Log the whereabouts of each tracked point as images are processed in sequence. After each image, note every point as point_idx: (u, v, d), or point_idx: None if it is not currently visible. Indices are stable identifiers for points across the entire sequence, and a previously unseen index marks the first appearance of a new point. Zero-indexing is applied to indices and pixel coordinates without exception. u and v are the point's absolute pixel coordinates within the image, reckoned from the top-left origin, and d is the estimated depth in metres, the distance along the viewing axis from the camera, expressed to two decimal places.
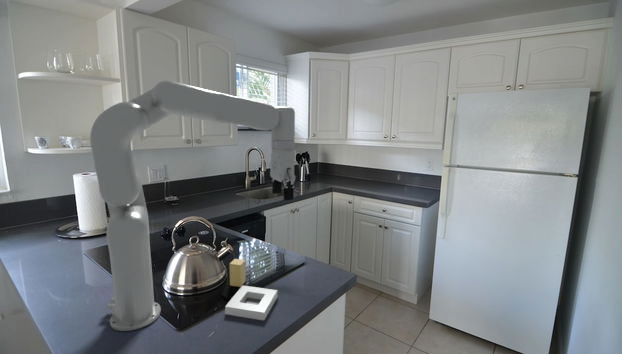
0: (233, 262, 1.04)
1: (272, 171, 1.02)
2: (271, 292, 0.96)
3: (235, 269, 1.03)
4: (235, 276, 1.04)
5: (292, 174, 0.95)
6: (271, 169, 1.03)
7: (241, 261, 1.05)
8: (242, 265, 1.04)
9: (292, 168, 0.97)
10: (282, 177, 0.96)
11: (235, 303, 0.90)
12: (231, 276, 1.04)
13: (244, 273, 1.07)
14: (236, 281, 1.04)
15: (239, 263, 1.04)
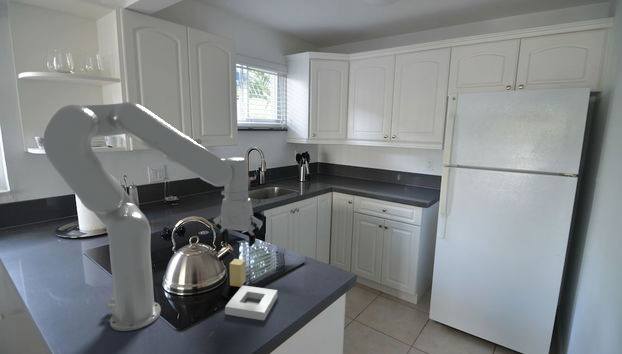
0: (233, 262, 1.04)
1: (228, 222, 1.00)
2: (271, 292, 0.96)
3: (235, 269, 1.03)
4: (235, 276, 1.04)
5: (259, 220, 1.01)
6: (224, 220, 1.00)
7: (241, 261, 1.05)
8: (242, 265, 1.04)
9: (252, 214, 1.02)
10: (249, 226, 1.00)
11: (235, 303, 0.90)
12: (231, 276, 1.04)
13: (244, 273, 1.07)
14: (236, 281, 1.04)
15: (239, 263, 1.04)
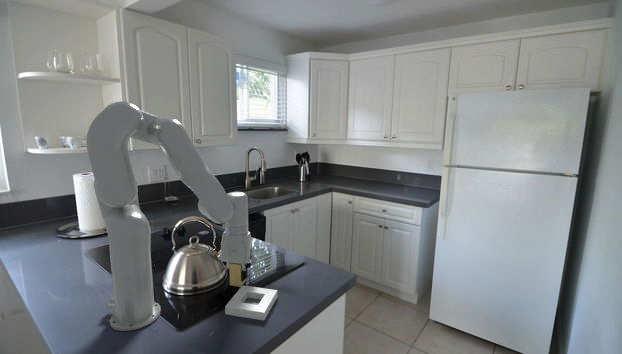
0: None
1: (227, 255, 1.02)
2: (271, 292, 0.96)
3: (235, 269, 1.03)
4: (235, 276, 1.04)
5: (255, 259, 1.03)
6: (224, 253, 1.02)
7: None
8: None
9: (252, 248, 1.04)
10: (248, 259, 1.01)
11: (235, 303, 0.90)
12: (231, 276, 1.04)
13: None
14: (236, 281, 1.04)
15: None
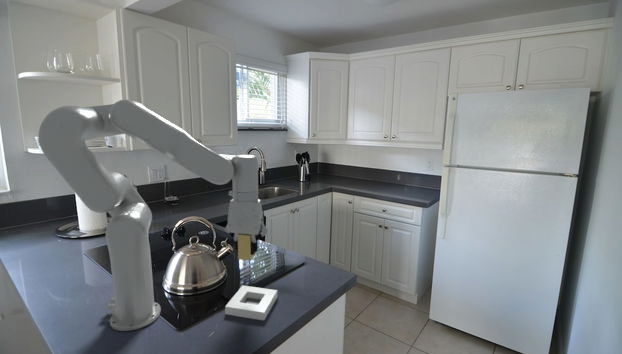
0: None
1: (235, 225, 0.92)
2: (271, 292, 0.96)
3: (244, 241, 0.93)
4: (243, 248, 0.94)
5: (266, 229, 0.93)
6: (232, 223, 0.92)
7: None
8: None
9: (262, 217, 0.94)
10: (259, 229, 0.91)
11: (235, 303, 0.90)
12: (239, 249, 0.94)
13: None
14: (245, 254, 0.94)
15: (248, 234, 0.94)
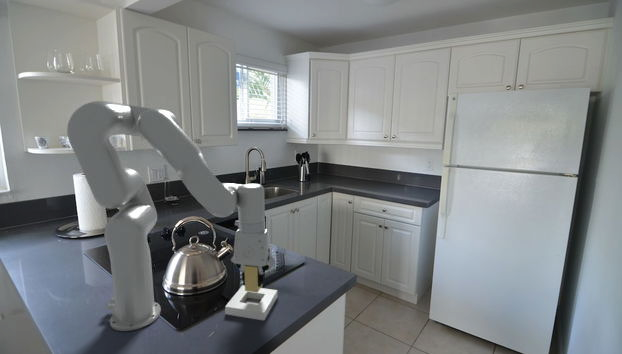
0: None
1: (242, 257, 0.89)
2: (271, 292, 0.96)
3: (251, 272, 0.90)
4: (250, 280, 0.90)
5: (273, 260, 0.90)
6: (238, 255, 0.89)
7: None
8: None
9: (269, 248, 0.91)
10: (266, 261, 0.88)
11: (235, 303, 0.90)
12: (246, 280, 0.91)
13: None
14: (252, 286, 0.91)
15: None
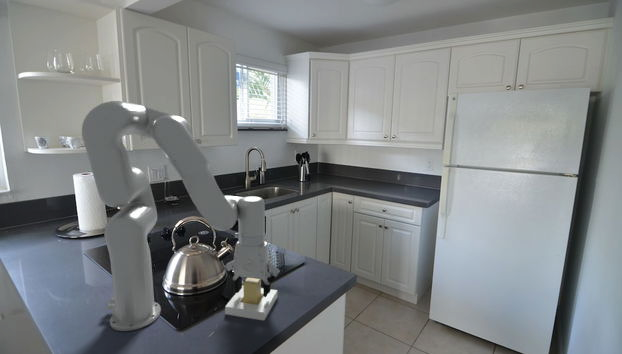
0: (247, 280, 0.92)
1: (241, 269, 0.89)
2: (271, 292, 0.96)
3: (250, 289, 0.91)
4: (249, 296, 0.91)
5: (276, 268, 0.90)
6: (238, 267, 0.89)
7: (256, 279, 0.93)
8: (258, 284, 0.92)
9: (269, 260, 0.91)
10: (265, 274, 0.89)
11: (235, 303, 0.90)
12: (245, 296, 0.92)
13: (260, 293, 0.94)
14: (251, 302, 0.91)
15: (254, 282, 0.91)
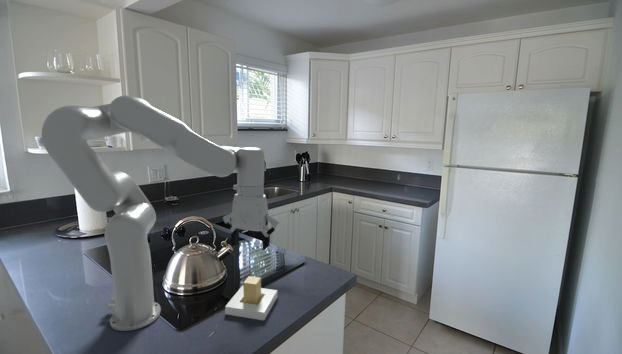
0: (247, 280, 0.92)
1: (239, 221, 0.88)
2: (271, 292, 0.96)
3: (250, 289, 0.91)
4: (249, 296, 0.91)
5: (275, 220, 0.88)
6: (236, 219, 0.88)
7: (256, 279, 0.93)
8: (258, 284, 0.92)
9: (267, 213, 0.90)
10: (263, 226, 0.87)
11: (235, 303, 0.90)
12: (245, 296, 0.92)
13: (260, 293, 0.94)
14: (251, 302, 0.91)
15: (254, 282, 0.91)
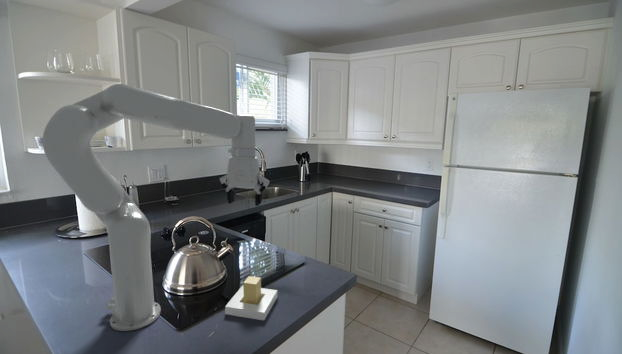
0: (247, 280, 0.92)
1: (234, 180, 0.99)
2: (271, 292, 0.96)
3: (250, 289, 0.91)
4: (249, 296, 0.91)
5: (266, 179, 1.00)
6: (231, 178, 0.99)
7: (256, 279, 0.93)
8: (258, 284, 0.92)
9: (259, 174, 1.01)
10: (255, 184, 0.98)
11: (235, 303, 0.90)
12: (245, 296, 0.92)
13: (260, 293, 0.94)
14: (251, 302, 0.91)
15: (254, 282, 0.91)
